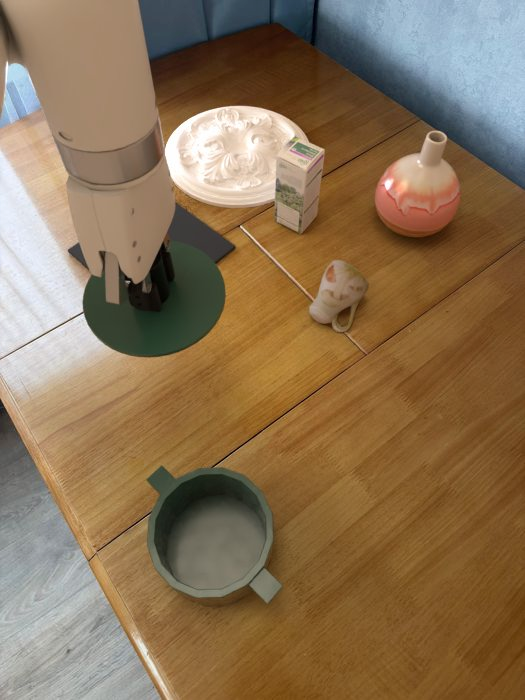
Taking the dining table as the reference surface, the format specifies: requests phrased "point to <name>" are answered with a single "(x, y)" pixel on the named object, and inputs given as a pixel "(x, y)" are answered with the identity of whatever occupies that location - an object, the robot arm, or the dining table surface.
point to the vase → (419, 191)
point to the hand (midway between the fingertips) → (153, 290)
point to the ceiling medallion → (229, 155)
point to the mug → (338, 294)
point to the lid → (177, 307)
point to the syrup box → (298, 184)
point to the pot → (212, 536)
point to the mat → (185, 237)
